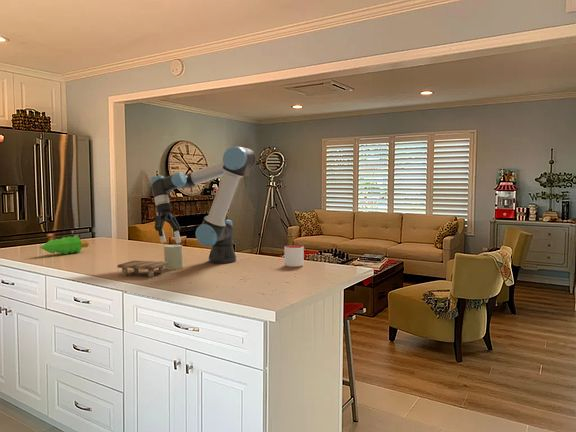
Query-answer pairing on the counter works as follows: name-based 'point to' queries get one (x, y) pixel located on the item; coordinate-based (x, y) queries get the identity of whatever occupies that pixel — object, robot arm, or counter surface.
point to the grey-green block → (173, 257)
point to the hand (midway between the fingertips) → (171, 242)
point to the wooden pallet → (142, 267)
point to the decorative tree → (65, 245)
